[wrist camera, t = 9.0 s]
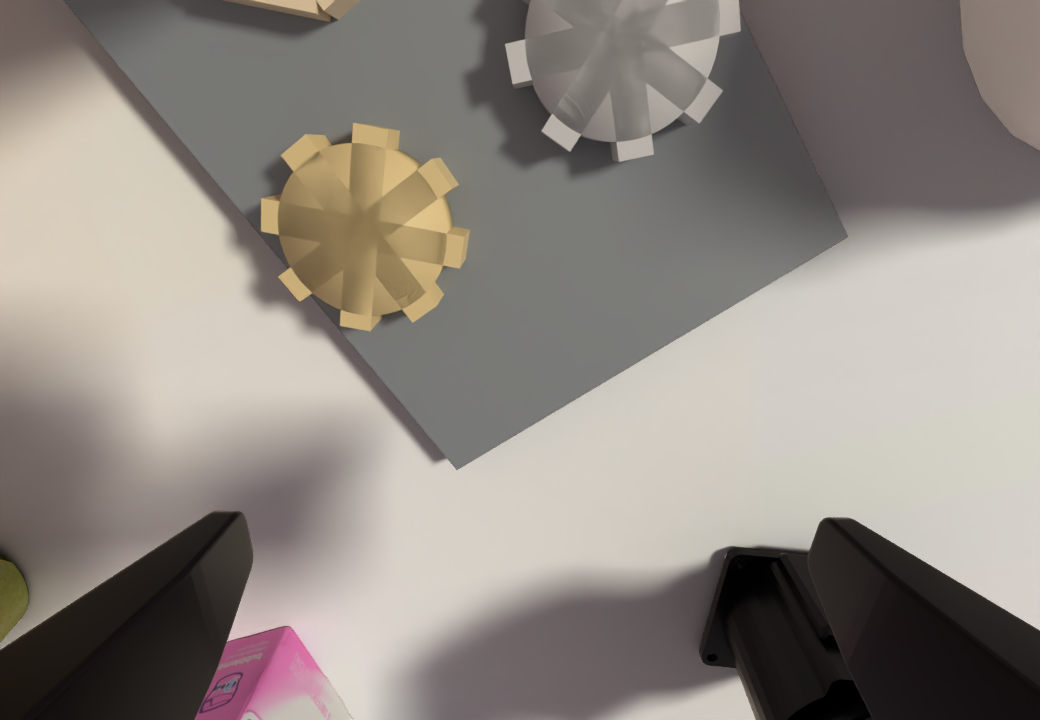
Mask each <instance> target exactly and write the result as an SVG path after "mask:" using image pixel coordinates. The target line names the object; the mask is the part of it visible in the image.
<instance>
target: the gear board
mask: <svg viewBox="0 0 1040 720" xmlns="http://www.w3.org/2000/svg"><path fill="white" fill-rule="evenodd" d="M64 2H65V3H66V4H67V5H68V6H69V8H70V9H71V10H72V11H73V12H74V14H75V15H76V16H77V17H78V18H79V20H80V21H81V22H82V23H83V24H84V25H85V27H86V28H87V29H88V30H89V31H90V33H91V34H92V35H93V36H94V37H95V39H96V40H97V41H98V42H99V43H100V45H101V46H102V47H103V48H104V49H105V51H106V52H107V53H108V54H109V55H110V57H111V58H112V59H113V60H114V61H115V63H116V64H117V65H118V66H119V67H120V68H121V70H122V71H123V72H124V73H125V74H126V76H127V77H128V78H129V79H130V80H131V82H132V83H133V84H134V85H135V86H136V88H137V89H138V90H139V91H140V92H141V94H142V95H143V96H144V97H145V98H146V100H147V101H148V102H149V103H150V104H151V105H152V107H153V108H154V109H155V110H156V111H157V113H158V114H159V115H160V116H161V117H162V119H163V120H164V121H165V122H166V123H167V125H168V126H169V127H170V128H171V129H172V131H173V132H174V133H175V134H176V135H177V137H178V138H179V139H180V140H181V141H182V142H183V144H184V145H185V146H186V147H187V148H188V150H189V151H190V152H191V153H192V154H193V156H194V157H195V158H196V159H197V160H198V162H199V163H200V164H201V165H202V166H203V168H204V169H205V170H206V171H207V172H208V174H209V175H210V176H211V177H212V178H213V179H214V181H215V182H216V183H217V184H218V185H219V187H220V188H221V189H222V190H223V191H224V193H225V194H226V195H227V196H228V197H229V199H230V200H231V201H232V202H233V203H234V205H235V206H236V207H237V208H238V209H239V211H240V212H241V213H242V214H243V215H244V217H245V218H246V219H247V220H248V221H249V222H250V224H251V225H252V226H253V227H254V228H255V230H256V231H257V232H258V233H259V234H260V236H261V237H262V238H263V239H264V240H265V242H266V243H267V244H268V245H269V246H270V248H271V249H272V250H273V251H274V252H275V254H276V255H277V256H278V257H279V258H280V259H281V261H282V262H283V263H284V264H285V265H286V267H287V268H288V270H286V271H285V272H284V273H282V274H281V275H280V276H278V277H279V279H280V280H281V281H282V282H283V283H284V284H285V286H286V287H287V288H288V289H289V290H290V292H291V293H292V294H293V295H294V296H295V297H296V299H297V300H298V301H299V302H300V301H302V300H304V299H305V298H307V297H308V296H310V295H311V296H312V298H313V299H314V300H315V301H316V302H317V304H318V305H319V306H320V307H321V308H322V310H323V311H324V312H325V313H326V314H327V316H328V317H329V318H330V319H331V320H332V322H333V323H334V324H335V325H336V326H337V328H338V329H339V330H340V331H341V332H342V334H343V335H344V336H345V337H346V338H347V339H348V341H349V342H350V343H351V344H352V345H353V347H354V348H355V349H356V350H357V351H358V353H359V354H360V355H361V356H362V357H363V359H364V360H365V361H366V362H367V363H368V365H369V366H370V367H371V368H372V369H373V371H374V372H375V373H376V374H377V375H378V376H379V378H380V379H381V380H382V381H383V382H384V384H385V385H386V386H387V387H388V388H389V390H390V391H391V392H392V393H393V394H394V396H395V397H396V398H397V399H398V400H399V402H400V403H401V404H402V405H403V406H404V408H405V409H406V410H407V411H408V412H409V413H410V415H411V416H412V417H413V418H414V419H415V421H416V422H417V423H418V424H419V425H420V427H421V428H422V429H423V430H424V431H425V433H426V434H427V435H428V436H429V437H430V439H431V440H432V441H433V442H434V443H435V445H436V446H437V447H438V448H439V449H440V450H441V452H442V453H443V454H444V455H445V456H446V458H447V459H448V460H449V461H450V462H451V464H452V465H453V466H454V467H455V468H456V470H458V469H459V468H461V467H463V466H465V465H466V464H468V463H470V462H471V461H473V460H475V459H476V458H478V457H480V456H481V455H483V454H485V453H486V452H488V451H490V450H491V449H493V448H495V447H496V446H498V445H500V444H501V443H503V442H505V441H507V440H508V439H510V438H512V437H513V436H515V435H517V434H518V433H520V432H522V431H523V430H525V429H527V428H528V427H530V426H532V425H533V424H535V423H537V422H538V421H540V420H542V419H543V418H545V417H547V416H548V415H550V414H552V413H554V412H555V411H557V410H559V409H560V408H562V407H564V406H565V405H567V404H569V403H570V402H572V401H574V400H575V399H577V398H579V397H580V396H582V395H584V394H585V393H587V392H589V391H590V390H592V389H594V388H596V387H597V386H599V385H601V384H602V383H604V382H606V381H607V380H609V379H611V378H612V377H614V376H616V375H617V374H619V373H621V372H622V371H624V370H626V369H627V368H629V367H631V366H632V365H634V364H636V363H638V362H639V361H641V360H643V359H644V358H646V357H648V356H649V355H651V354H653V353H654V352H656V351H658V350H659V349H661V348H663V347H664V346H666V345H668V344H669V343H671V342H673V341H674V340H676V339H678V338H679V337H681V336H683V335H685V334H686V333H688V332H690V331H691V330H693V329H695V328H696V327H698V326H700V325H701V324H703V323H705V322H706V321H708V320H710V319H711V318H713V317H715V316H716V315H718V314H720V313H721V312H723V311H725V310H727V309H728V308H730V307H732V306H733V305H735V304H737V303H738V302H740V301H742V300H743V299H745V298H747V297H748V296H750V295H752V294H753V293H755V292H757V291H758V290H760V289H762V288H763V287H765V286H767V285H769V284H770V283H772V282H774V281H775V280H777V279H779V278H780V277H782V276H784V275H785V274H787V273H789V272H790V271H792V270H794V269H795V268H797V267H799V266H800V265H802V264H804V263H805V262H807V261H809V260H810V259H812V258H814V257H816V256H817V255H819V254H821V253H822V252H824V251H826V250H827V249H829V248H831V247H832V246H834V245H836V244H837V243H839V242H841V241H842V240H844V239H846V238H847V237H848V235H847V233H846V231H845V229H844V227H843V225H842V223H841V221H840V219H839V217H838V214H837V212H836V210H835V208H834V206H833V204H832V202H831V200H830V198H829V196H828V194H827V191H826V189H825V187H824V185H823V183H822V181H821V179H820V177H819V175H818V173H817V171H816V168H815V166H814V164H813V162H812V160H811V158H810V156H809V154H808V152H807V150H806V148H805V145H804V143H803V141H802V139H801V137H800V135H799V133H798V131H797V129H796V127H795V125H794V122H793V120H792V118H791V116H790V114H789V112H788V110H787V108H786V106H785V104H784V102H783V99H782V97H781V95H780V93H779V91H778V89H777V87H776V85H775V83H774V81H773V79H772V76H771V74H770V72H769V70H768V68H767V66H766V64H765V62H764V60H763V58H762V56H761V53H760V51H759V49H758V47H757V45H756V43H755V41H754V39H753V37H752V35H751V33H750V30H749V28H748V26H747V24H746V22H745V20H744V18H743V16H742V14H741V12H740V9H739V0H64Z"/></svg>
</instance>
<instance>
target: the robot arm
mask: <svg viewBox="0 0 1040 720" xmlns="http://www.w3.org/2000/svg"><path fill="white" fill-rule="evenodd" d="M739 559H743V560H742V561H740V562H736V561H737V560H739ZM252 563H253V548H252V544H251V539H250V535H249V530H248V525H247V521H246V518H245V515H244V514H243V513H242V512H240V511H214V512H211V513H209V514H208V515H206V516H205V517H203V518H202V519H200V520H198V521H197V522H195V523H194V524H192V525H191V526H189V527H188V528H186V529H185V530H183V531H182V532H180V533H179V534H177V535H175V536H174V537H172V538H171V539H169V540H168V541H166V542H165V543H163V544H162V545H160V546H159V547H157V548H156V549H154V550H152V551H151V552H149V553H148V554H146V555H145V556H143V557H142V558H140V559H139V560H137V561H136V562H134V563H133V564H131V565H130V566H128V567H126V568H125V569H123V570H122V571H120V572H119V573H117V574H116V575H114V576H113V577H111V578H110V579H108V580H107V581H105V582H103V583H102V584H100V585H99V586H97V587H96V588H94V589H93V590H91V591H90V592H88V593H87V594H85V595H84V596H82V597H80V598H79V599H77V600H76V601H74V602H73V603H71V604H70V605H68V606H67V607H65V608H64V609H62V610H61V611H59V612H57V613H56V614H54V615H53V616H51V617H50V618H48V619H47V620H45V621H44V622H42V623H41V624H39V625H38V626H36V627H34V628H33V629H31V630H30V631H28V632H27V633H25V634H24V635H22V636H21V637H19V638H18V639H16V640H15V641H13V642H12V643H10V644H8V645H7V646H5V647H4V648H2V649H1V650H0V720H195V718H196V716H197V713H198V711H199V709H200V707H201V705H202V702H203V700H204V698H205V696H206V693H207V691H208V689H209V687H210V685H211V682H212V680H213V678H214V675H215V673H216V670H217V668H218V666H219V663H220V660H221V657H222V655H223V652H224V649H225V646H226V643H227V640H228V637H229V634H230V631H231V628H232V625H233V622H234V619H235V616H236V613H237V610H238V607H239V604H240V601H241V598H242V595H243V592H244V589H245V586H246V583H247V580H248V577H249V574H250V571H251V568H252ZM699 653H700V656H701V659H702V661H703V663H705V664H706V665H710V666H721V667H731V668H737V671H738V674H739V676H740V679H741V682H742V684H743V687H744V690H745V692H746V695H747V697H748V700H749V703H750V705H751V708H752V711H753V713H754V716H755V719H756V720H1040V630H1038V629H1036V628H1035V627H1033V626H1031V625H1030V624H1028V623H1026V622H1025V621H1023V620H1021V619H1019V618H1018V617H1016V616H1014V615H1013V614H1011V613H1009V612H1008V611H1006V610H1004V609H1003V608H1001V607H999V606H998V605H996V604H994V603H993V602H991V601H989V600H988V599H986V598H984V597H983V596H981V595H979V594H978V593H976V592H974V591H973V590H971V589H969V588H968V587H966V586H964V585H962V584H961V583H959V582H957V581H956V580H954V579H952V578H951V577H949V576H947V575H946V574H944V573H942V572H941V571H939V570H937V569H936V568H934V567H932V566H931V565H929V564H927V563H926V562H924V561H922V560H921V559H919V558H917V557H916V556H914V555H912V554H911V553H909V552H907V551H906V550H904V549H902V548H900V547H899V546H897V545H895V544H894V543H892V542H890V541H889V540H887V539H885V538H884V537H882V536H880V535H879V534H877V533H875V532H874V531H872V530H870V529H869V528H867V527H865V526H864V525H862V524H860V523H859V522H857V521H855V520H853V519H851V518H840V517H828V518H824V519H823V520H822V521H821V522H820V523H819V525H818V528H817V531H816V534H815V537H814V540H813V542H812V545H811V548H810V551H809V554H808V555H806V554H796V553H785V552H775V551H765V550H755V549H744V548H736V549H733V550H731V551H730V552H729V553H728V554H727V556H726V559H725V562H724V566H723V569H722V573H721V576H720V580H719V583H718V587H717V590H716V593H715V597H714V600H713V604H712V607H711V611H710V614H709V618H708V621H707V625H706V628H705V632H704V635H703V639H702V642H701V645H700V649H699Z"/></svg>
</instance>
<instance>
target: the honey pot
mask: <svg viewBox="0 0 1040 720" xmlns="http://www.w3.org/2000/svg"><path fill="white" fill-rule="evenodd" d="M960 11H961V26H962V40H963V50H964V52H965V55H966V58H967V61H968V63H969V66H970V69H971V71H972V74H973V77H974V79H975V82H976V85H977V87H978V90H979V93H980V96H981V98H982V99H983V100H984V102H985V103H986V104H987V105H988V107H989V108H990V109H991V110H992V111H993V113H994V114H995V115H996V116H997V117H998V119H999V120H1000V121H1001V122H1002V123H1003V125H1004V126H1005V127H1006V128H1007V129H1008V131H1009V132H1010V133H1011V134H1012V135H1013V136H1015V137H1017V138H1018V139H1020V140H1022V141H1024V142H1025V143H1027V144H1029V145H1030V146H1032V147H1034V148H1036V149H1037V150H1039V151H1040V0H960Z"/></svg>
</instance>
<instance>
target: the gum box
mask: <svg viewBox="0 0 1040 720" xmlns="http://www.w3.org/2000/svg"><path fill="white" fill-rule="evenodd" d="M195 720H354V719H353V718H352V716H351V715H350V713H349V712H348V710H347V708H346V706H345V705H344V703H343V701H342V700H341V698H340V697H339V695H338V694H337V692H336V691H335V689H334V688H333V686H332V685H331V683H330V682H329V680H328V679H327V678H326V676H325V675H324V674H323V673H322V671H321V670H320V669H319V667H318V666H317V664H316V663H315V661H314V660H313V658H312V657H311V655H310V654H309V652H308V651H307V649H306V648H305V646H304V645H303V643H302V642H301V640H300V639H299V637H298V636H297V634H296V633H295V632H294V630H293V629H292V628H290V627H282V628H278V629H275V630H271V631H268V632H264V633H261V634H257V635H254V636H251V637H246V638H241V639H237V640H233V641H230V642H227V643H226V646H225V649H224V652H223V655H222V657H221V660H220V663H219V666H218V668H217V670H216V673H215V675H214V678H213V680H212V682H211V685H210V687H209V689H208V691H207V693H206V696H205V698H204V700H203V702H202V705H201V707H200V709H199V711H198V713H197V716H196V718H195Z"/></svg>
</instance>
